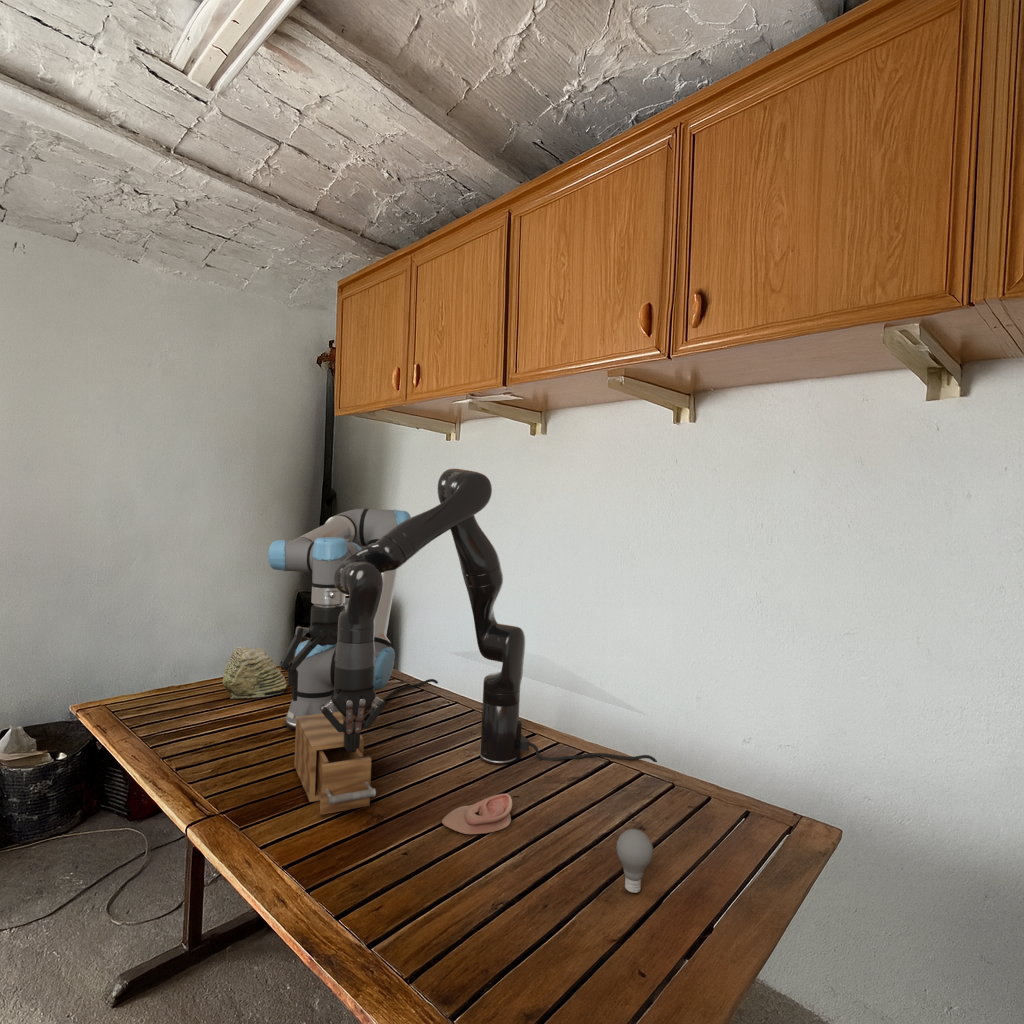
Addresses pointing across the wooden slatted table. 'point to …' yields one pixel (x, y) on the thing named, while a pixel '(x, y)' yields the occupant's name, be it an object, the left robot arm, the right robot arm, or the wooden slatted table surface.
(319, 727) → the cabinet
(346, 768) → the drawer
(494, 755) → the right robot arm
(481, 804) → the anatomical model
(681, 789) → the wooden slatted table surface
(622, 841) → the light bulb
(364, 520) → the left robot arm
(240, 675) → the fossil
